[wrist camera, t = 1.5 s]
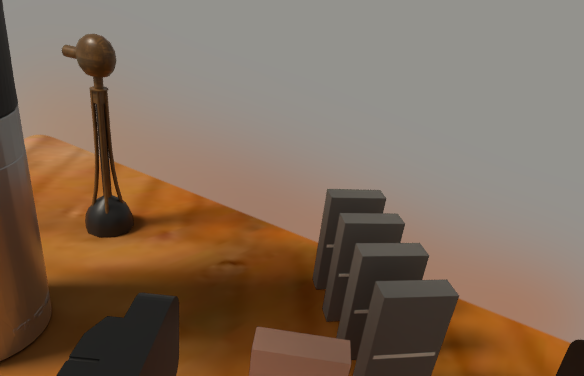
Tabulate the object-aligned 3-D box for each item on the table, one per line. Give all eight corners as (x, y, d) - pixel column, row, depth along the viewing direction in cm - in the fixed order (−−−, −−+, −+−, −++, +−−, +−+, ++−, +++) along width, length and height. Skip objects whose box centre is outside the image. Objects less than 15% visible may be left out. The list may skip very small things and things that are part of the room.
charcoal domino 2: (380, 319, 40) (405, 223, 36) (326, 321, 39) (345, 223, 35) (374, 306, 41) (397, 213, 37) (322, 308, 40) (339, 212, 36)
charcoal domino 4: (421, 403, 32) (459, 295, 28) (355, 409, 31) (384, 298, 27) (412, 384, 34) (446, 279, 29) (349, 389, 33) (375, 281, 28)
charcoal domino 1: (365, 288, 44) (386, 198, 39) (316, 289, 43) (331, 197, 38) (360, 277, 45) (379, 190, 41) (312, 278, 44) (327, 188, 40)
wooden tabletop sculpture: (68, 225, 48) (43, 29, 39) (101, 207, 52) (84, 26, 43) (112, 242, 46) (95, 40, 37) (142, 222, 50) (134, 36, 41)
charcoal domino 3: (399, 357, 36) (429, 255, 32) (340, 360, 35) (362, 256, 31) (391, 342, 38) (419, 242, 33) (334, 344, 37) (355, 243, 32)
